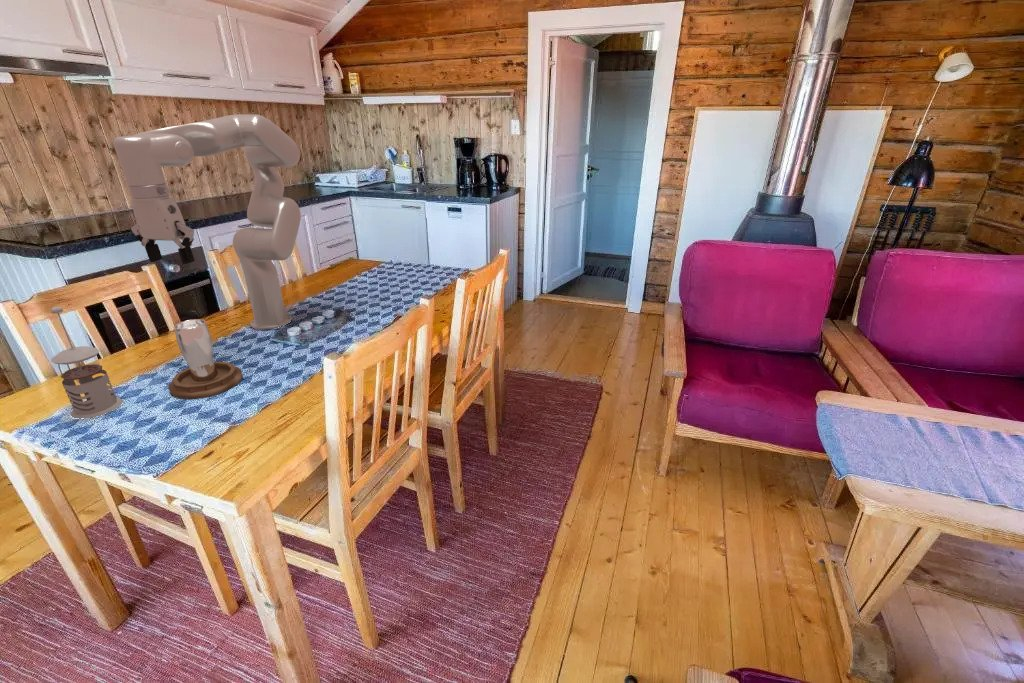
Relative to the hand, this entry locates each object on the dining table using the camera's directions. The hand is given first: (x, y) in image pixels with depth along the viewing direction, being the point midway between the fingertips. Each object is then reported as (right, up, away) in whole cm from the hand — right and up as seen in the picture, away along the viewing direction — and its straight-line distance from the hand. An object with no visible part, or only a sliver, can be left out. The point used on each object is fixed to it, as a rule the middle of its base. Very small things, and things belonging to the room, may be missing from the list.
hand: (172, 261), depth 120 cm
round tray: (+9, -31, 0) cm, 32 cm away
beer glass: (+8, -30, 0) cm, 31 cm away
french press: (-11, -36, -10) cm, 39 cm away
